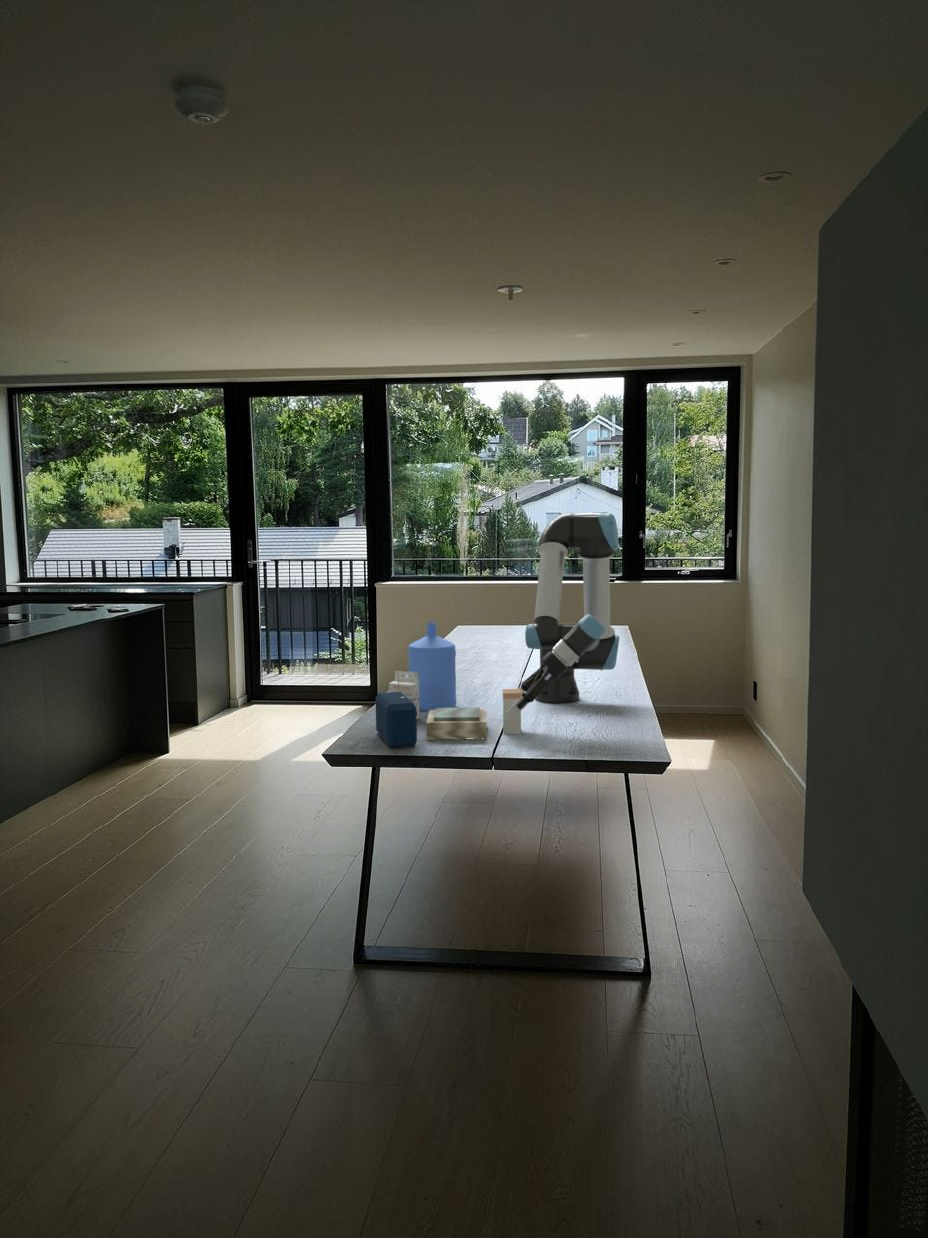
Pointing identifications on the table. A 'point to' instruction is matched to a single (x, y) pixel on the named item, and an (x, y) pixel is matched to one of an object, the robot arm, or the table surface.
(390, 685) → the ink cartridge box
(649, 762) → the table surface
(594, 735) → the table surface
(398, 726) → the radio
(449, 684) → the water jug
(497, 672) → the table surface
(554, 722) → the table surface
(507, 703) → the plate
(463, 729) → the birch tray
